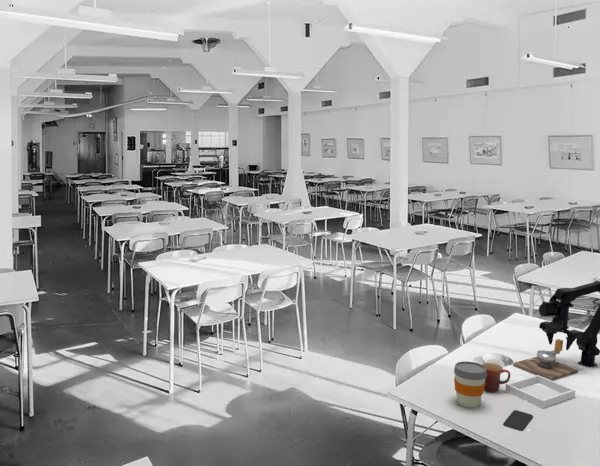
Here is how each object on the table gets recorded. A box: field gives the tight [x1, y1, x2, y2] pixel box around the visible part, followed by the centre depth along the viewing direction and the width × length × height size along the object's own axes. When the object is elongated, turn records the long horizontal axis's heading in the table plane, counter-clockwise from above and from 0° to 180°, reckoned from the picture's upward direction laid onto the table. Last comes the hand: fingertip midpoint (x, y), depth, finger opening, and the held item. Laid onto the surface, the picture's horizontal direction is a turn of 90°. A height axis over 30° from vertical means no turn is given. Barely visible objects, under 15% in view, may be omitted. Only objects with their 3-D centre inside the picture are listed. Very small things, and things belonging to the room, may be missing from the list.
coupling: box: [536, 338, 564, 363], centre depth 257 cm, size 14×8×8 cm, turn 121°
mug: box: [480, 362, 511, 393], centre depth 232 cm, size 12×9×10 cm
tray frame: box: [504, 375, 576, 409], centre depth 230 cm, size 21×18×3 cm
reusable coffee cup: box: [453, 360, 487, 408], centre depth 220 cm, size 13×13×15 cm
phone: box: [502, 409, 534, 432], centre depth 206 cm, size 7×1×15 cm
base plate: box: [512, 356, 579, 381], centre depth 256 cm, size 20×20×4 cm
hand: (558, 347), depth 260 cm, fingers open, 8 cm apart
